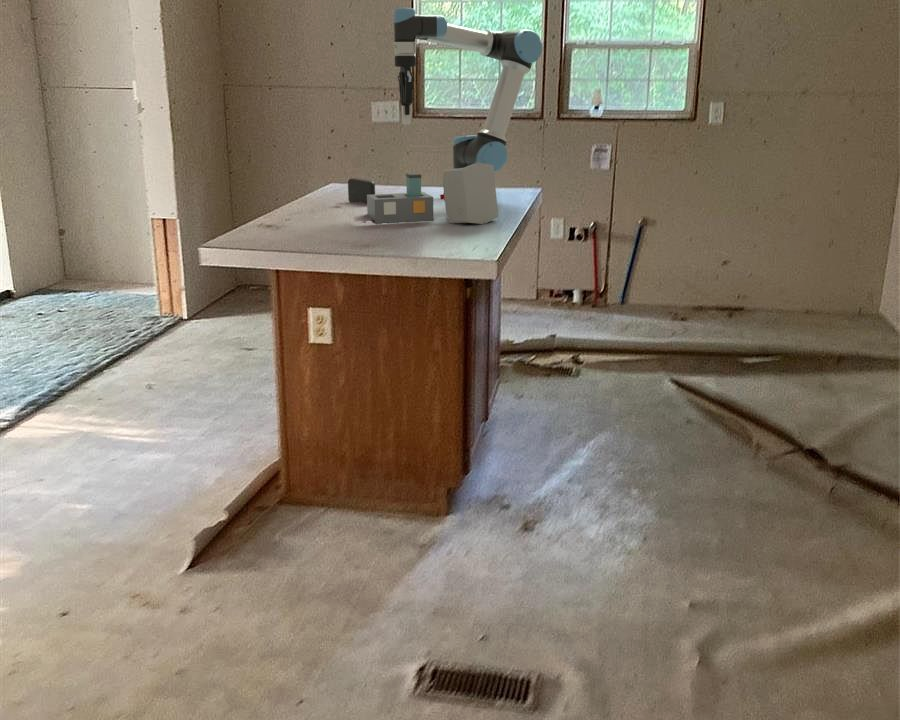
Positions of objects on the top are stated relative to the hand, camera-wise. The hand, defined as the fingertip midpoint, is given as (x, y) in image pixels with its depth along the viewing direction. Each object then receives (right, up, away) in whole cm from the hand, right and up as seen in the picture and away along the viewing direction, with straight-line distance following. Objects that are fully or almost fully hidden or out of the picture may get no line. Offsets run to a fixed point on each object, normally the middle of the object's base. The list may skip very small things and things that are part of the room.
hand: (406, 124), depth 321 cm
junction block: (-1, -37, -19) cm, 42 cm away
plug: (+3, -36, -18) cm, 40 cm away
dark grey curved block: (-17, -28, +11) cm, 34 cm away
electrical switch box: (+21, -38, -22) cm, 49 cm away
